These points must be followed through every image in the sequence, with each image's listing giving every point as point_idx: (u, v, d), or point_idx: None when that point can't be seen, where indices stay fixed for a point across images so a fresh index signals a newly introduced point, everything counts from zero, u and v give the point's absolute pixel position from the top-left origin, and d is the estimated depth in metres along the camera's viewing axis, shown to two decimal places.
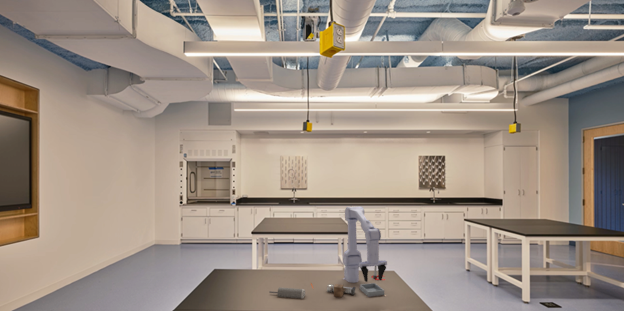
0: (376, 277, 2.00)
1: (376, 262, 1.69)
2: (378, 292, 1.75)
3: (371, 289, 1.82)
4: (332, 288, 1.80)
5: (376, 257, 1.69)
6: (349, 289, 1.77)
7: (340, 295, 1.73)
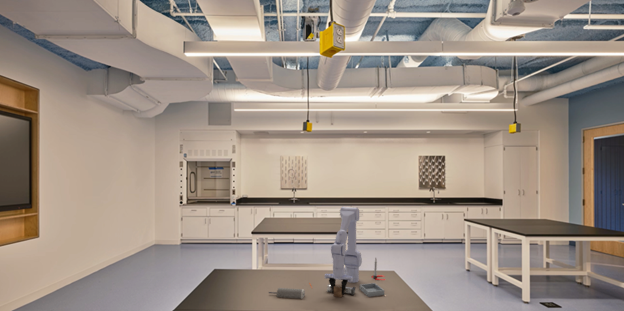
0: (376, 277, 2.00)
1: (338, 276, 1.73)
2: (378, 292, 1.75)
3: (371, 289, 1.82)
4: None
5: (338, 271, 1.73)
6: (349, 289, 1.77)
7: (340, 295, 1.73)
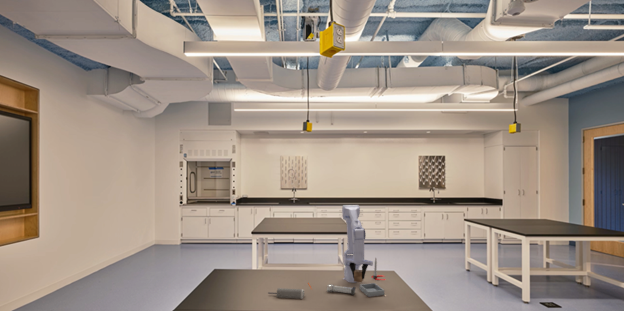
0: (376, 277, 2.00)
1: (358, 260, 1.76)
2: (378, 292, 1.75)
3: (371, 289, 1.82)
4: (332, 288, 1.80)
5: (358, 256, 1.76)
6: (349, 289, 1.77)
7: (360, 280, 1.76)
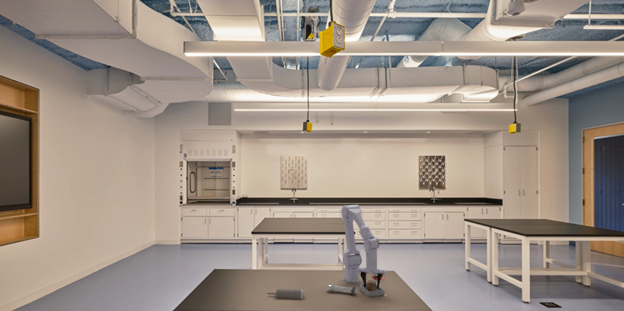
0: (376, 277, 2.00)
1: (371, 270, 1.77)
2: (378, 292, 1.75)
3: None
4: (332, 288, 1.80)
5: (371, 265, 1.77)
6: (349, 289, 1.77)
7: None
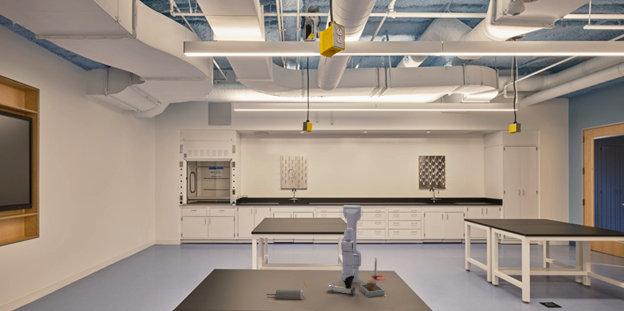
0: (376, 277, 2.00)
1: None
2: (378, 292, 1.75)
3: None
4: (332, 288, 1.80)
5: None
6: (349, 289, 1.77)
7: None
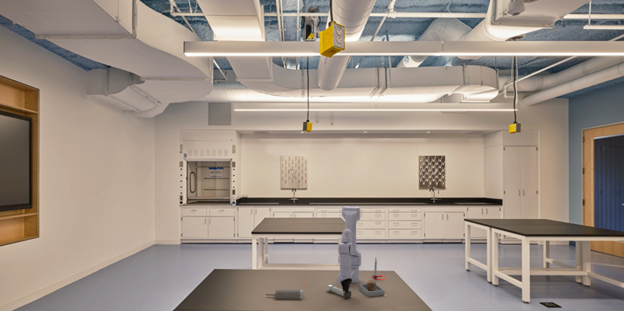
0: (376, 277, 2.00)
1: None
2: (378, 292, 1.75)
3: None
4: (331, 288, 1.79)
5: None
6: (343, 292, 1.73)
7: None
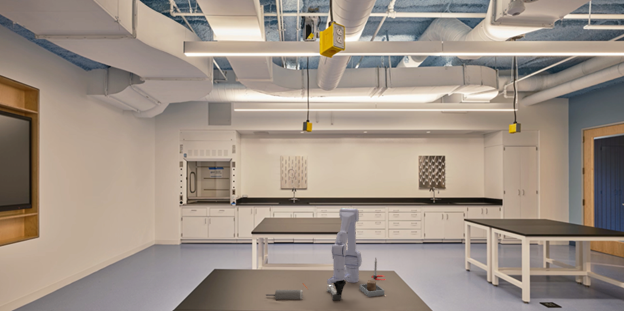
0: (376, 277, 2.00)
1: None
2: (378, 292, 1.75)
3: None
4: (329, 288, 1.79)
5: None
6: (334, 294, 1.71)
7: None
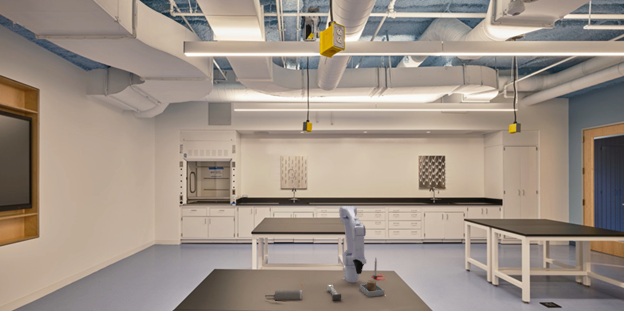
0: (376, 277, 2.00)
1: (354, 256, 1.82)
2: (378, 292, 1.75)
3: None
4: (329, 288, 1.79)
5: (354, 251, 1.82)
6: (334, 294, 1.71)
7: None
